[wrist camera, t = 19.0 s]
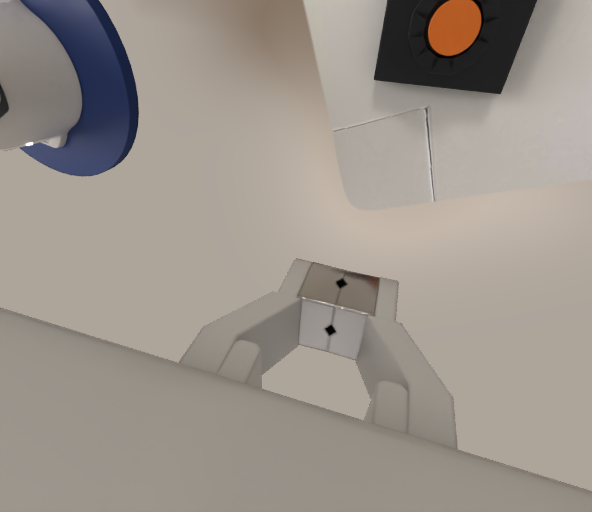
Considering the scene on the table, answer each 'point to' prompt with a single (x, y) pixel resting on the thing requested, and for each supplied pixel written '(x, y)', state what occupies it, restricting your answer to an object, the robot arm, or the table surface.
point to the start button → (454, 26)
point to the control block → (457, 68)
